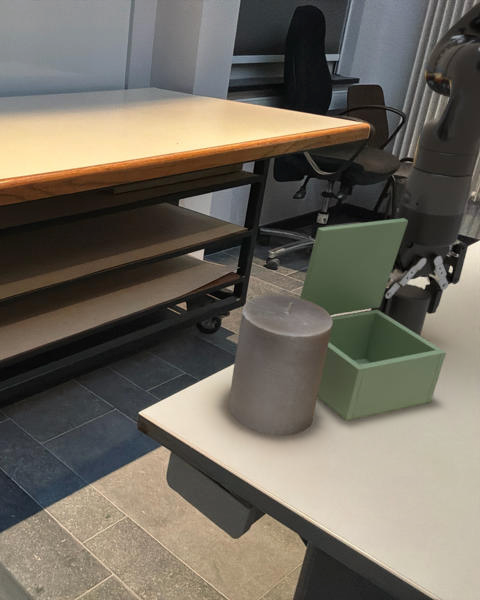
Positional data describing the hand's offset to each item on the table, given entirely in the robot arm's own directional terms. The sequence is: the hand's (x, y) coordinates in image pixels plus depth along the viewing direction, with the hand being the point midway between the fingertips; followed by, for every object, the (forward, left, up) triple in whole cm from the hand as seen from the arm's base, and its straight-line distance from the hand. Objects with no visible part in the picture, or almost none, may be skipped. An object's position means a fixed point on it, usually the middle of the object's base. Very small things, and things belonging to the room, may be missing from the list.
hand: (403, 315), depth 94 cm
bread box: (+13, +8, -5) cm, 16 cm away
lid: (+13, +3, +10) cm, 17 cm away
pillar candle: (+27, +9, -5) cm, 29 cm away
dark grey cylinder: (0, 0, -5) cm, 5 cm away
